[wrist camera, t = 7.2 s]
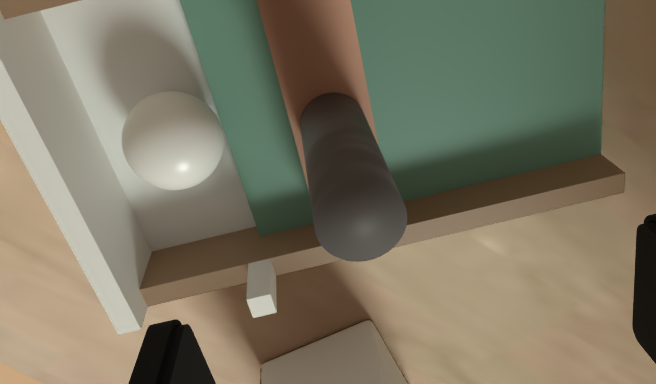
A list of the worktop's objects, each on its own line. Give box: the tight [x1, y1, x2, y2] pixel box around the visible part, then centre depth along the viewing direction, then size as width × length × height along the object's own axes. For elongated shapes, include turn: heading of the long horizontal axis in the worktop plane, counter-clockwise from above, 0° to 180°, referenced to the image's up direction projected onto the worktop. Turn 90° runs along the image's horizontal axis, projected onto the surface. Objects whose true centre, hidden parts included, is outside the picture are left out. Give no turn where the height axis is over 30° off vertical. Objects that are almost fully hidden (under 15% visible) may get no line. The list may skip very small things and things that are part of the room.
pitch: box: [0, 0, 625, 335], centre depth 22 cm, size 23×14×6 cm, turn 102°
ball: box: [122, 91, 224, 190], centre depth 22 cm, size 4×4×4 cm
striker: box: [257, 0, 407, 261], centre depth 18 cm, size 3×10×10 cm, turn 12°
